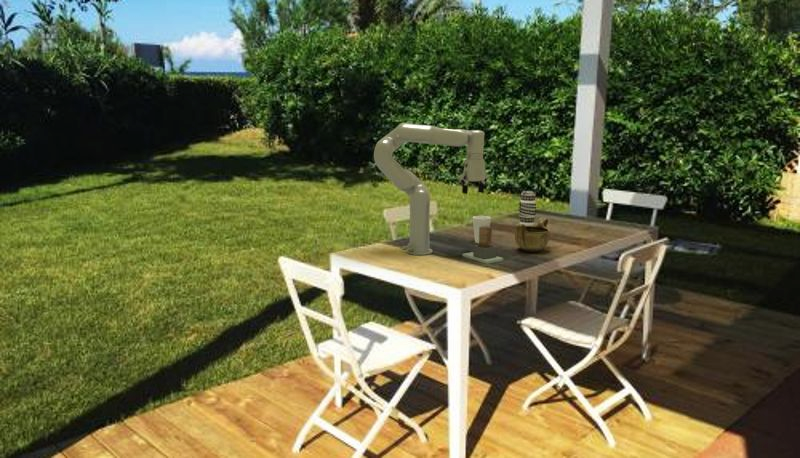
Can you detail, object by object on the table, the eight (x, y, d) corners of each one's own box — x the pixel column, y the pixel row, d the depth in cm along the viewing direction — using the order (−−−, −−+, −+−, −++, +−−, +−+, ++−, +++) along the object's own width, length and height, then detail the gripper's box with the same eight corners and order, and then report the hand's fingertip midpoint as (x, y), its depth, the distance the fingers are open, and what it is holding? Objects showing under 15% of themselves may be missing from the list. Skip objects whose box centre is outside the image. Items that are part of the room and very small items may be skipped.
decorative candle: (517, 239, 353) (518, 192, 348) (518, 235, 362) (520, 189, 357) (534, 240, 351) (536, 193, 346) (535, 236, 360) (537, 190, 354)
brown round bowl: (530, 244, 341) (532, 215, 338) (559, 249, 329) (560, 220, 326) (503, 250, 326) (504, 220, 323) (532, 257, 314) (533, 226, 311)
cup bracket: (486, 263, 302) (487, 250, 301) (462, 256, 316) (462, 243, 314) (503, 260, 308) (503, 247, 306) (478, 253, 321) (478, 240, 320)
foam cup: (493, 243, 343) (493, 218, 340) (476, 244, 340) (477, 219, 337) (485, 239, 352) (486, 215, 349) (469, 240, 349) (469, 216, 346)
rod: (484, 258, 307) (485, 228, 305) (478, 256, 311) (479, 226, 308) (490, 256, 310) (491, 227, 307) (485, 255, 313) (485, 226, 310)
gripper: (465, 158, 305) (463, 195, 308) (494, 157, 314) (492, 193, 317) (455, 156, 311) (453, 192, 314) (484, 155, 320) (482, 190, 323)
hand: (472, 192), depth 316 cm, fingers open, 9 cm apart
